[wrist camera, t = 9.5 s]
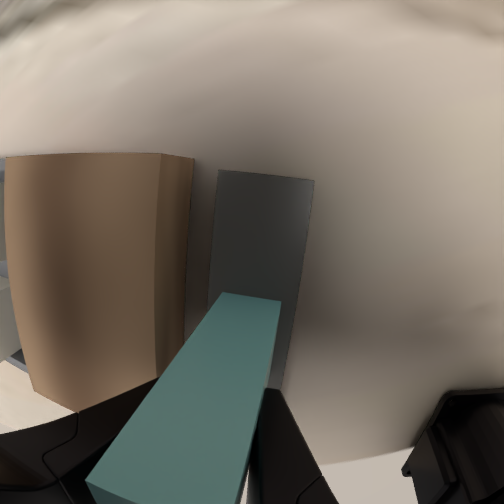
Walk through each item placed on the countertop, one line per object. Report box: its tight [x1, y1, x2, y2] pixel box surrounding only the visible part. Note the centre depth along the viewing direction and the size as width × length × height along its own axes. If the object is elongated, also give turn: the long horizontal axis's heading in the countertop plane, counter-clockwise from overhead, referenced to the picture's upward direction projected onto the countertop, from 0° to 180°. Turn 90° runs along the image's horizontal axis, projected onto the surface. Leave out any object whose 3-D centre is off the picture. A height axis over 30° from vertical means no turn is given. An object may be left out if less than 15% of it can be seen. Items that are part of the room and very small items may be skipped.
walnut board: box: [4, 153, 194, 414], centre depth 12 cm, size 8×12×3 cm, turn 174°
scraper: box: [85, 170, 314, 504], centre depth 8 cm, size 3×11×10 cm, turn 173°
